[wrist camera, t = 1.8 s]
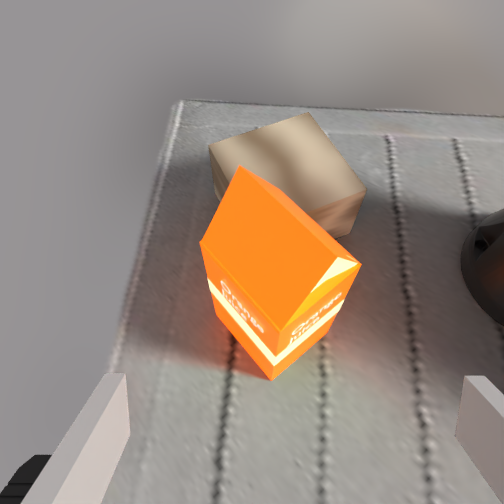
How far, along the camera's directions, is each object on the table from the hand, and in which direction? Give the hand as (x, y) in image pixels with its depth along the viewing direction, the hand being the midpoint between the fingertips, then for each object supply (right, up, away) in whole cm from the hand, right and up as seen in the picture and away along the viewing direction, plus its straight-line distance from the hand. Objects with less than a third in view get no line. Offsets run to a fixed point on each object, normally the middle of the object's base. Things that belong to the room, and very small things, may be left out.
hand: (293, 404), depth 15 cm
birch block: (+2, +11, +32) cm, 34 cm away
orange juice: (0, -1, +25) cm, 25 cm away
